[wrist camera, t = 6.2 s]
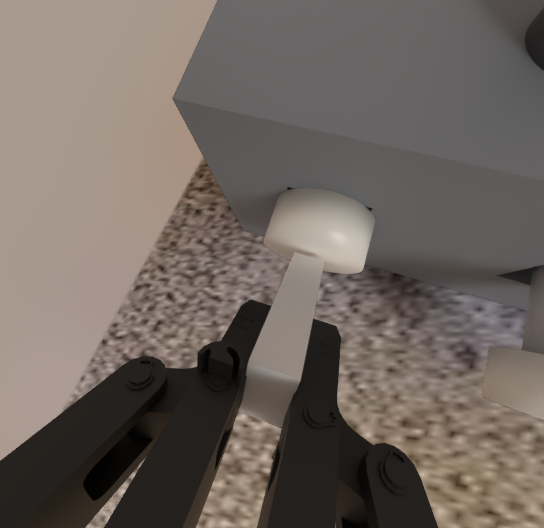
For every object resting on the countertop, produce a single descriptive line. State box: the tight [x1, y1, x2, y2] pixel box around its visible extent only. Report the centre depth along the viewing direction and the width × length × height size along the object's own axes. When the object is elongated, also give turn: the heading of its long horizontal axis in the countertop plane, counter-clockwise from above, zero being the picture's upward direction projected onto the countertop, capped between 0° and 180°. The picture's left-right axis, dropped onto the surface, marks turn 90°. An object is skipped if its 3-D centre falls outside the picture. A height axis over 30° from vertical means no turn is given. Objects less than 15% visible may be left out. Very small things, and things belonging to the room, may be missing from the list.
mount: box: [173, 0, 544, 311], centre depth 14 cm, size 24×8×13 cm, turn 72°
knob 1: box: [263, 188, 375, 274], centre depth 14 cm, size 5×7×5 cm
